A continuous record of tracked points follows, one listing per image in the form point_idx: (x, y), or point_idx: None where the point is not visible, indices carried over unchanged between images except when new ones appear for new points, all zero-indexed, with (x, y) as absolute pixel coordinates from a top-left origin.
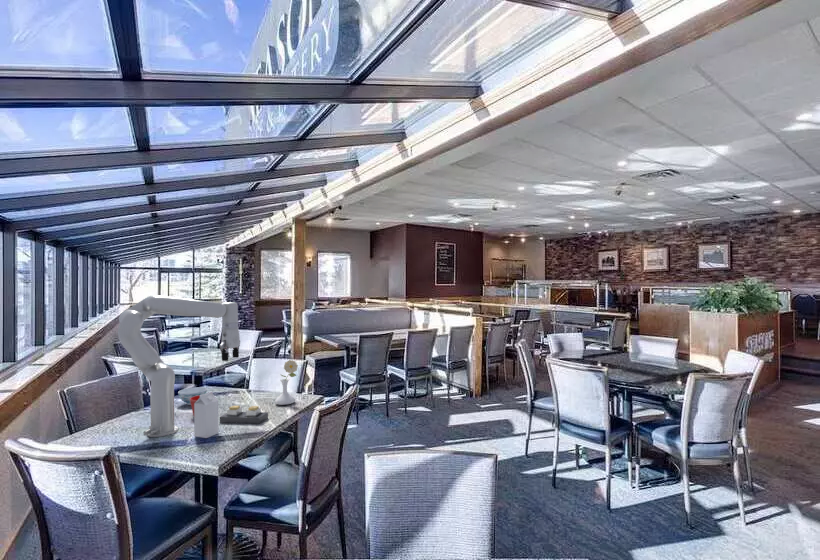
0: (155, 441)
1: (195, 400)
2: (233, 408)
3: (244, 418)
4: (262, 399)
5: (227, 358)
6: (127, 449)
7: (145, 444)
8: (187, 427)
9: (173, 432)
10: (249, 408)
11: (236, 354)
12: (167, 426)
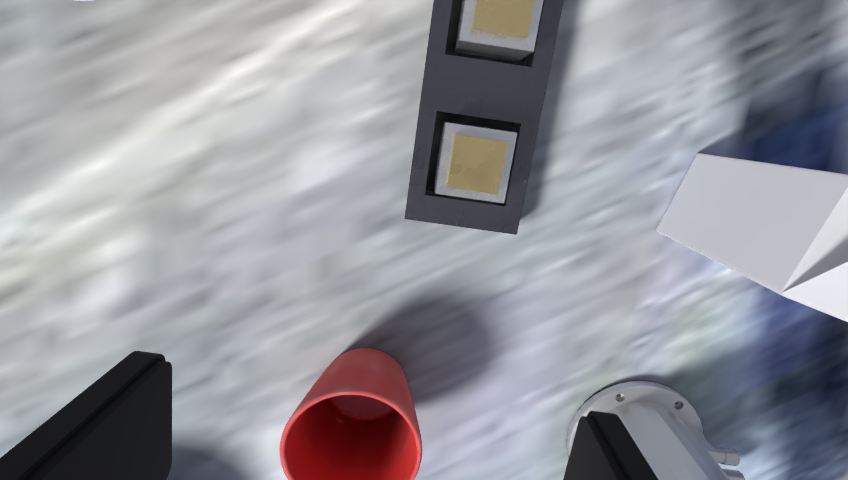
0: (752, 407)
1: (421, 458)
2: (502, 161)
3: (550, 60)
4: (2, 150)
5: (631, 448)
6: (829, 465)
7: (783, 428)
8: (567, 362)
9: (659, 385)
10: (529, 26)
11: (128, 432)
12: (685, 427)
